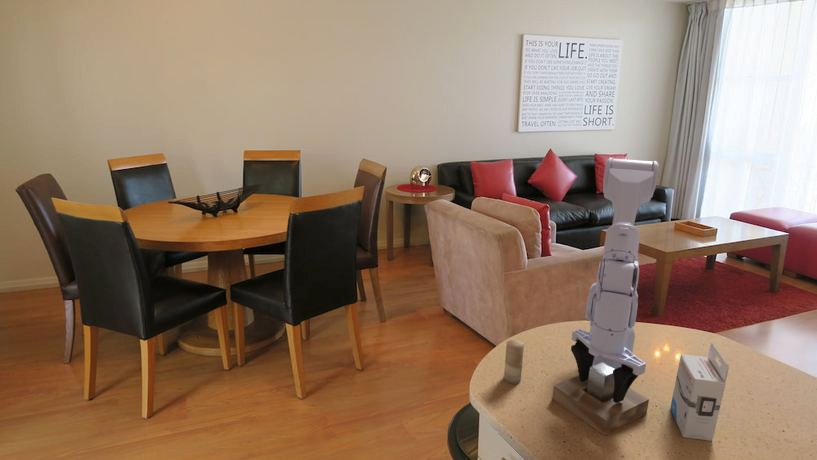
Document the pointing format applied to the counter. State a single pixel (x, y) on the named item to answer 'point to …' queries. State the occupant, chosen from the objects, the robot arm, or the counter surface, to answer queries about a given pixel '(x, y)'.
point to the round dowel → (513, 361)
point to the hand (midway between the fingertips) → (600, 389)
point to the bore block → (599, 405)
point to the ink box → (699, 394)
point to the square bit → (601, 382)
